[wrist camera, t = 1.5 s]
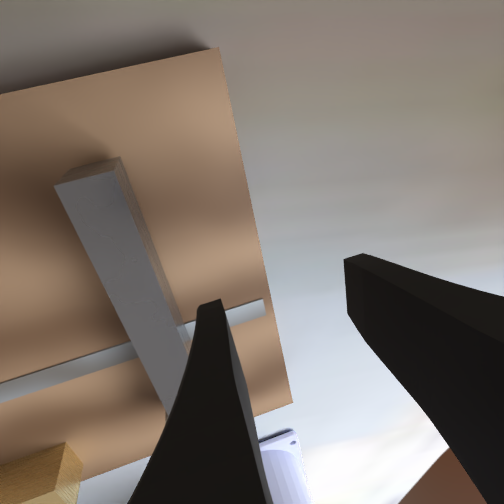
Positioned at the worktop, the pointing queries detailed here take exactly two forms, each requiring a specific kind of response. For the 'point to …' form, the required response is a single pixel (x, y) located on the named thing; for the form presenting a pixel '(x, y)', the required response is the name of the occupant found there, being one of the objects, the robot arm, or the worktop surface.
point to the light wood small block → (42, 477)
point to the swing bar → (128, 269)
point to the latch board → (84, 274)
